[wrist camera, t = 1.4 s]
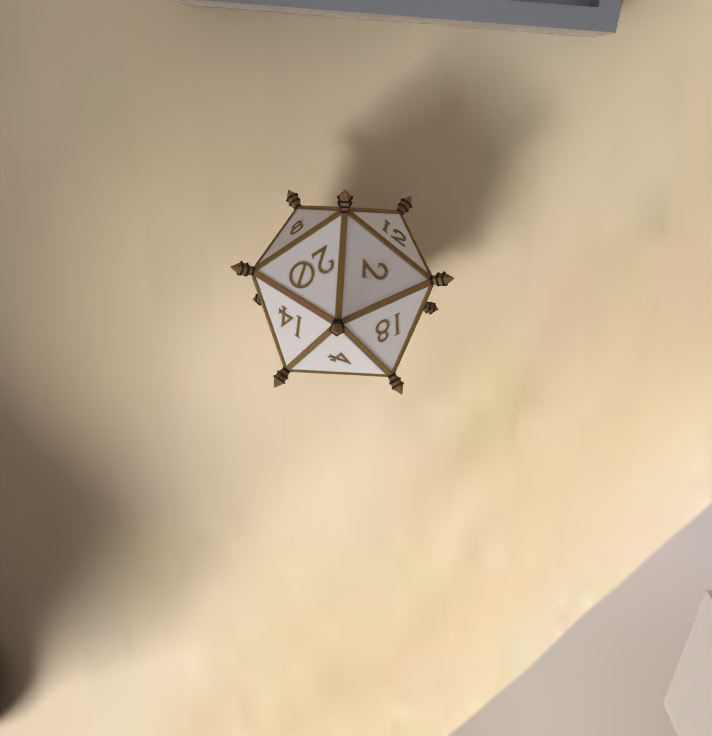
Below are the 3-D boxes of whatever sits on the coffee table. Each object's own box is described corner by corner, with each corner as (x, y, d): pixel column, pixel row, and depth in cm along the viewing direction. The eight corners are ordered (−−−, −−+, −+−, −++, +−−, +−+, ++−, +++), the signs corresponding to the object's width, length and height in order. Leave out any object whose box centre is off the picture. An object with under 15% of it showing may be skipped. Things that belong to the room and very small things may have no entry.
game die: (288, 358, 35) (255, 461, 26) (233, 198, 32) (172, 249, 22) (458, 317, 33) (486, 409, 24) (418, 145, 30) (434, 176, 21)
